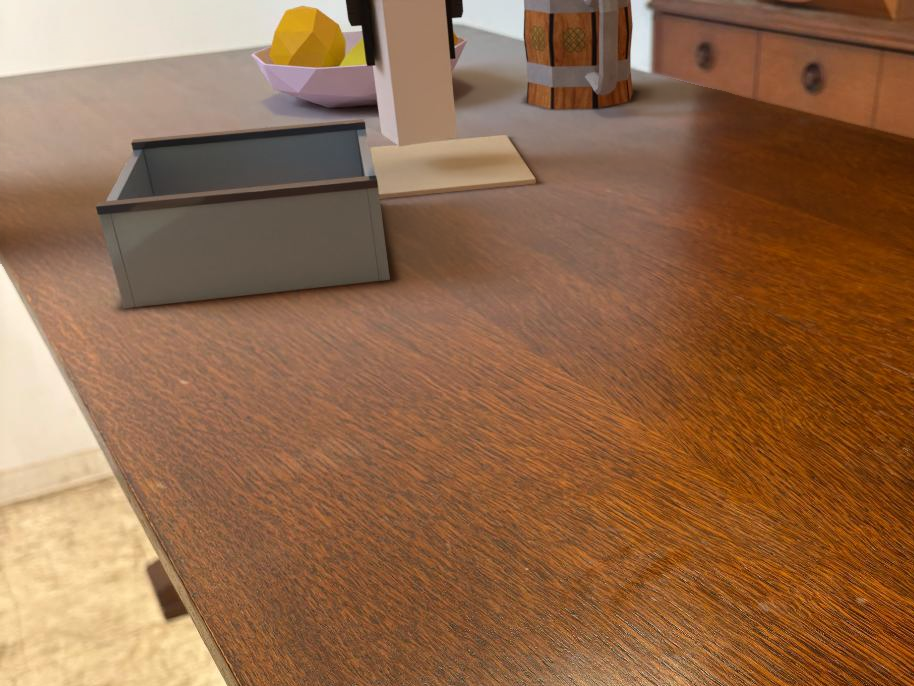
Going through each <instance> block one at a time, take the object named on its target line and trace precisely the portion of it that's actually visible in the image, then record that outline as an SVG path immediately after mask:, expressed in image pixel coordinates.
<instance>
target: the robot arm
mask: <svg viewBox="0 0 914 686" xmlns="http://www.w3.org/2000/svg"><path fill="white" fill-rule="evenodd" d="M345 5H346V7H345V8H346V14H347V20H348V23H349V25H350V26H351V27H360V26H361V31H362V35H363V42H364V50H365V58H366V63H367V66H375V59H374V51H373V43H372V34H371V26H370V18H369V10H368V2H367V0H345ZM445 5H446V17H447V28H448V40H449V51H450V59H456V57H455V45H454V33H453V30H454V22H453V19H461V18H462V17H463V14H464V1H463V0H445Z"/></svg>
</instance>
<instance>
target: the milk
mask: <svg viewBox="0 0 914 686" xmlns="http://www.w3.org/2000/svg"><path fill="white" fill-rule="evenodd" d="M367 2H368V10H369V18H370V26H371V34H372V43H373V51H374V59H375V66H373V70H374V78H375V87H376V95H377V103H378V105H377V109H378V118H379V125H380V126H379V127H380V133H381V135H382V136H384V137H385V138H386V139H388V140H389V141H390V142H392V143H393V144H394V145H398V146H407V145H413V144H420V143H426V142H434V141H445V140H453V139H456V138H457V139H458V131H457V122H456V121H457V120H456V111H455V110H456V109H455V97H454V87H453V75H452V74H453V73H452V74H451V63H450V51H449V40H448V28H447V17H446V5H445V0H367Z"/></svg>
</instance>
